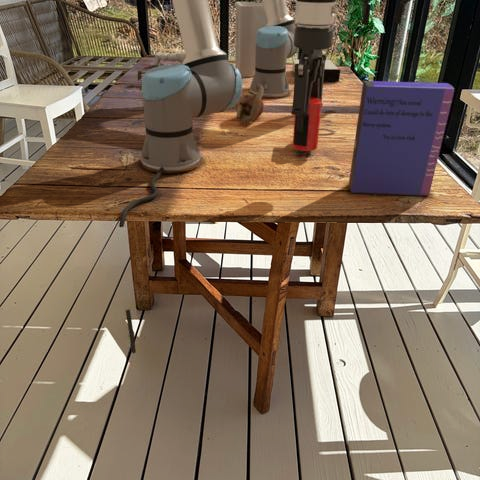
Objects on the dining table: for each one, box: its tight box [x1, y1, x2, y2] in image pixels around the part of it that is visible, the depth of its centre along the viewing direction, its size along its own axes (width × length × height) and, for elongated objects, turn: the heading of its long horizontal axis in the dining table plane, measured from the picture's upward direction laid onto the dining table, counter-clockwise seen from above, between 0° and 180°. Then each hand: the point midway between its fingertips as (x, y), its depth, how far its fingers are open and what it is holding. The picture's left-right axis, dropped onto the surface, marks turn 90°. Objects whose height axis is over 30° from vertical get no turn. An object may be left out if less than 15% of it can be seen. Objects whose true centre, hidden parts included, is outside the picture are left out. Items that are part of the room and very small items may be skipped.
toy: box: [153, 50, 186, 67], centre depth 224 cm, size 24×25×7 cm
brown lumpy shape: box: [234, 84, 265, 127], centre depth 152 cm, size 13×9×15 cm
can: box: [292, 97, 323, 152], centre depth 103 cm, size 6×6×10 cm
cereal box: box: [348, 80, 455, 197], centre depth 104 cm, size 17×5×24 cm, turn 86°
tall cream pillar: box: [234, 1, 267, 78], centre depth 210 cm, size 19×15×28 cm
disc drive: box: [292, 59, 341, 83], centre depth 211 cm, size 18×22×5 cm
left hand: (304, 140), depth 105 cm, fingers closed on can, 5 cm apart
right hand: (381, 24), depth 171 cm, fingers open, 13 cm apart
